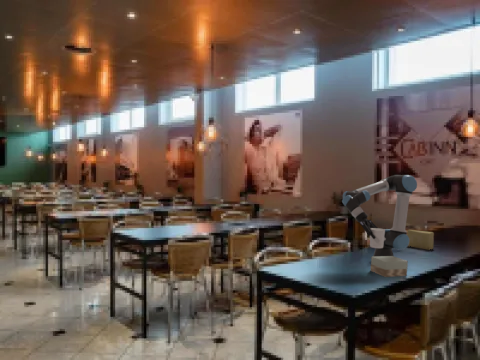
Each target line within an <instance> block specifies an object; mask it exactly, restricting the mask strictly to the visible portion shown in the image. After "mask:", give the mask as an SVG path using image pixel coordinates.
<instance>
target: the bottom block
mask: <svg viewBox="0 0 480 360" xmlns="http://www.w3.org/2000/svg"><path fill="white" fill-rule="evenodd" d="M370 272H372V273H374V272H375V274H377V275H380V276H382V277H385V278H391V277H405V276H406V277H407V275H408V268H407V269H392V270H385V269H382V268H380V267H377V266H375V265H372V264H370Z"/></svg>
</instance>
